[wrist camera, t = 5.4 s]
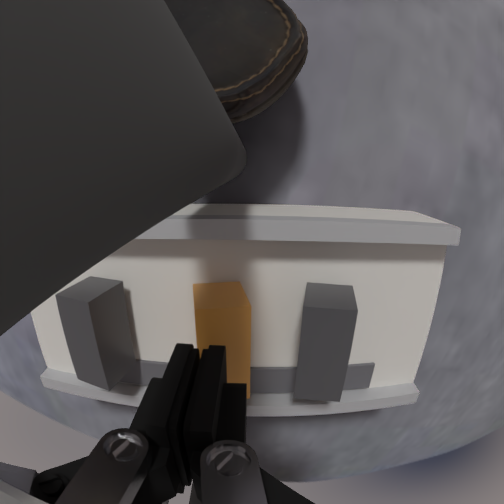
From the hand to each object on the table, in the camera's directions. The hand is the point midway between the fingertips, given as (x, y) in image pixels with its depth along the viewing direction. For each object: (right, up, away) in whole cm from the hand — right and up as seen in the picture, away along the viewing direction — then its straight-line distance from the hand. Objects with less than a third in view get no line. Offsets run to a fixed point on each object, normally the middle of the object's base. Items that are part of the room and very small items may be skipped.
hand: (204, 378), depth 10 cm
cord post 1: (0, +9, +6) cm, 11 cm away
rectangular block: (0, +1, +4) cm, 4 cm away
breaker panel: (0, +2, +8) cm, 8 cm away
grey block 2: (+5, +1, +4) cm, 6 cm away
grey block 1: (-5, +1, +4) cm, 6 cm away
